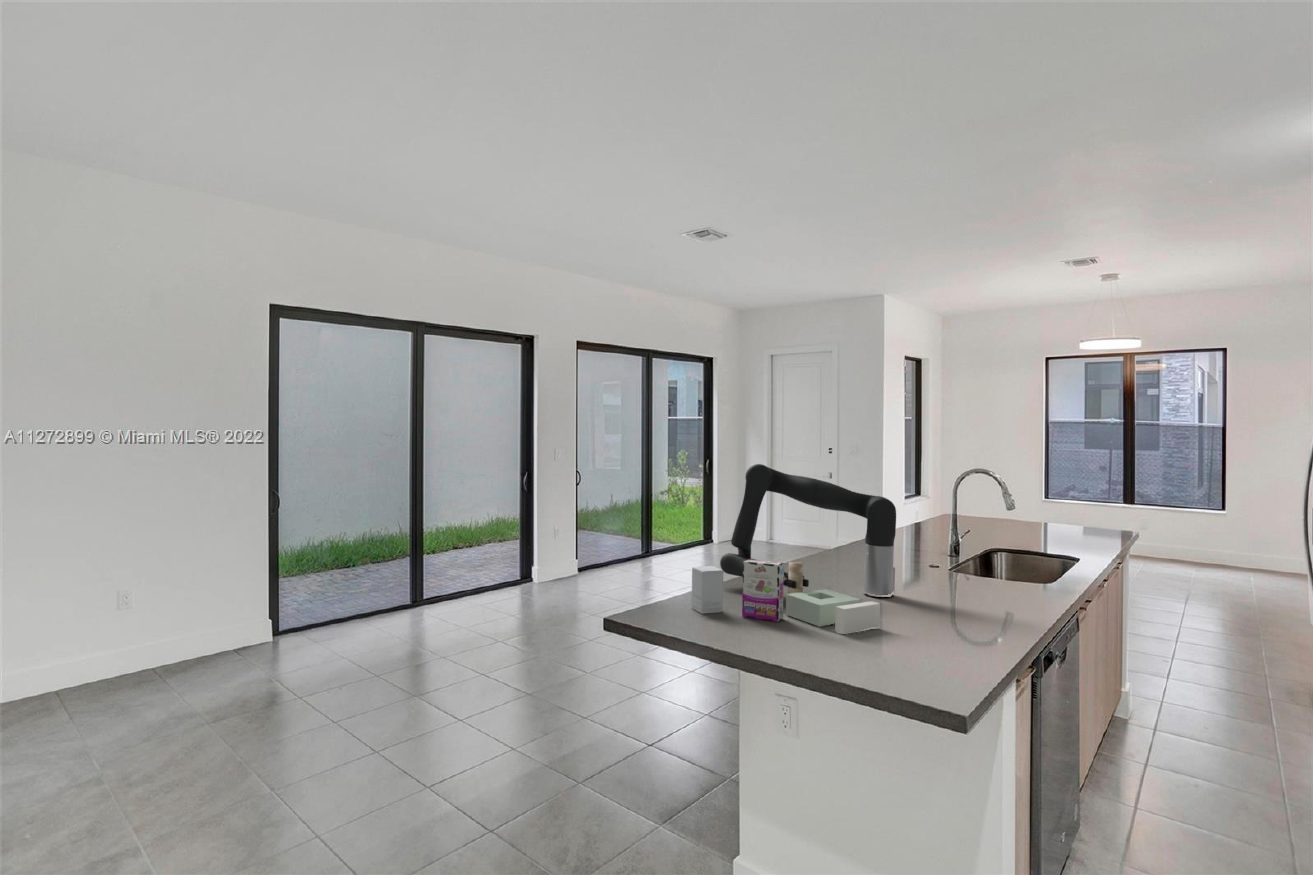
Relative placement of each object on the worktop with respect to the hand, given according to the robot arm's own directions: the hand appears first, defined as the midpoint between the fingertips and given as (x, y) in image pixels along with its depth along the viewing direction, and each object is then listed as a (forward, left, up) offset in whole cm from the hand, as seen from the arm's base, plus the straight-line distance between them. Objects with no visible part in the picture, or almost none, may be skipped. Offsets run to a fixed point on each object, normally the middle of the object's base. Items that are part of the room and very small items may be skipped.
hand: (801, 584), depth 205 cm
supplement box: (+26, -13, -8) cm, 30 cm away
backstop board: (0, +23, -8) cm, 24 cm away
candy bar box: (+16, +1, -8) cm, 18 cm away
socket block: (0, +9, -8) cm, 12 cm away
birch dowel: (0, -3, -8) cm, 8 cm away
